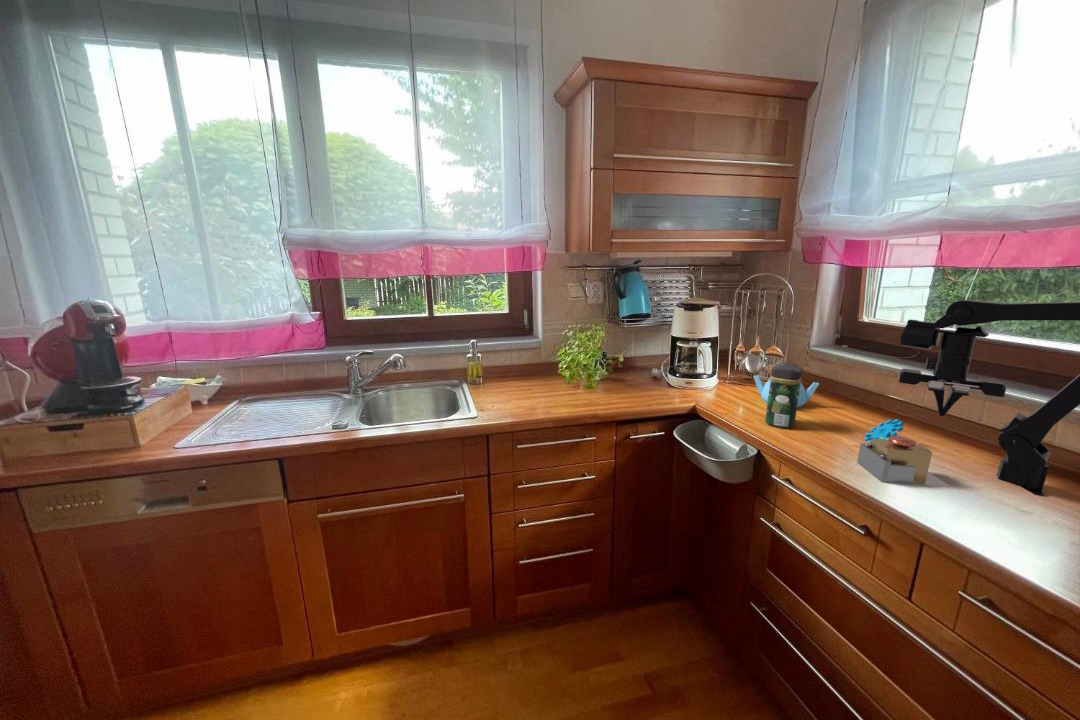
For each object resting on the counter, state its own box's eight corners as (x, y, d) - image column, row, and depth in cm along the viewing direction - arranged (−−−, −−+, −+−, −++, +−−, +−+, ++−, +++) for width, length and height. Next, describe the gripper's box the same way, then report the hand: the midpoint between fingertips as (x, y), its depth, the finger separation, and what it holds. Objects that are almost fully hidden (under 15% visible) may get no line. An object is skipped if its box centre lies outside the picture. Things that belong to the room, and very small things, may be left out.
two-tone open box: (919, 470, 108) (925, 444, 106) (950, 490, 98) (957, 462, 97) (856, 466, 109) (860, 441, 108) (880, 486, 100) (885, 458, 98)
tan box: (907, 469, 106) (914, 436, 104) (925, 481, 100) (933, 446, 98) (866, 466, 107) (872, 433, 105) (881, 478, 101) (888, 443, 99)
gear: (860, 429, 128) (897, 412, 123) (875, 446, 128) (913, 428, 122) (863, 448, 120) (903, 430, 114) (880, 465, 119) (920, 448, 113)
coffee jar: (767, 416, 143) (775, 359, 139) (796, 421, 139) (805, 363, 135) (761, 425, 136) (770, 365, 131) (791, 431, 131) (801, 369, 127)
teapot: (818, 408, 152) (823, 377, 150) (783, 412, 147) (788, 380, 145) (782, 395, 166) (786, 366, 164) (749, 398, 162) (752, 369, 159)
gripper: (1003, 353, 107) (987, 415, 111) (904, 343, 118) (892, 400, 122) (1014, 361, 99) (996, 428, 102) (905, 349, 110) (893, 410, 113)
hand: (941, 415), depth 110 cm, fingers closed
